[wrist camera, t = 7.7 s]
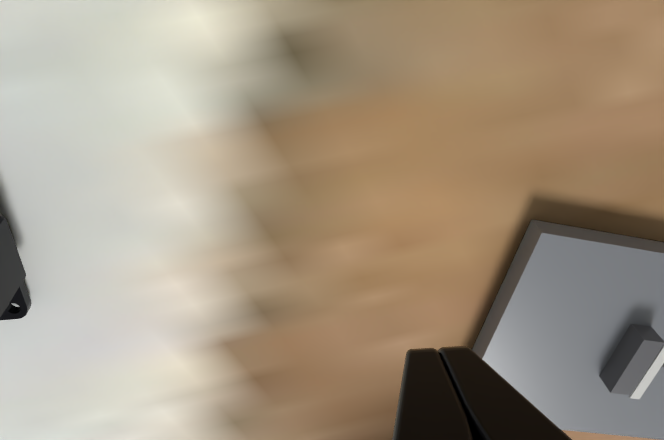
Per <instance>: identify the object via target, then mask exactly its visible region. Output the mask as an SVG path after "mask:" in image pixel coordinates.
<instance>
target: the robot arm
mask: <svg viewBox="0 0 664 440" xmlns="http://www.w3.org/2000/svg"><path fill="white" fill-rule="evenodd" d="M25 276H26V273H25V270H24V268H23V265H22V262H21V259H20V256H19V253H18V251H17V248H16V245H15V242H14V239H13V236H12V234H11V231H10V228H9V225H8V222H7V220H6V218H5V217H4V216H3V215H2V214H0V320H9V319H19V318H22V317H24V316H25V315H26V314H27V312H28V310H29V309H30V306H31V300H30V297H29V294H28V291H27V288H26V286H25V283H24V278H25ZM11 303H15V304H17V305H19V306H20V307H15V306H13V305H12V304H11ZM392 440H572V439H571V438H569V437H568V436H567V435H566V434H565V433H564V432H563V431H562V430H561V429H559V428H558V427H557V426H556V425H555V424H554V423H553V422H552V421H551V420H549V419H548V418H547V417H546V416H545V415H544V414H543V413H542V412H541V411H539V410H538V409H537V408H536V407H535V406H534V405H533V404H532V403H531V402H529V401H528V400H527V399H526V398H525V397H524V396H523V395H522V394H520V393H519V392H518V391H517V390H516V389H515V388H514V387H513V386H512V385H510V384H509V383H508V382H507V381H506V380H505V379H504V378H503V377H502V376H500V375H499V374H498V373H497V372H496V371H495V370H494V369H493V368H492V367H490V366H489V365H488V364H487V363H486V362H485V361H484V360H483V359H482V358H480V357H479V356H478V355H477V354H476V353H475V352H474V351H473V350H471V349H470V348H468V347H466V346H456V347H442V348H440V349H439V350H438V351H437V350H436V349H434V348H423V349H410V350H408V352H407V354H406V358H405V365H404V371H403V377H402V383H401V389H400V395H399V401H398V407H397V413H396V419H395V426H394V432H393V438H392Z"/></svg>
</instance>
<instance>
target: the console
mask: <svg viewBox="0 0 664 440" xmlns="http://www.w3.org/2000/svg"><path fill="white" fill-rule="evenodd" d="M472 350H473V351H474V352H475V353H476V354H477V355H478V356H479V357H480V358H482V359H483V360H484V361H485V362H486V363H487V364H488V365H489V366H490V367H492V368H493V369H494V370H495V371H496V372H497V373H498V374H499V375H500V376H502V377H503V378H504V379H505V380H506V381H507V382H508V383H509V384H510V385H512V386H513V387H514V388H515V389H516V390H517V391H518V392H519V393H520V394H522V395H523V396H524V397H525V398H526V399H527V400H528V401H529V402H531V403H532V404H533V405H534V406H535V407H536V408H537V409H538V410H539V411H541V412H542V413H543V414H544V415H545V416H546V417H547V418H548V419H549V420H551V421H552V422H553V423H554V424H555V425H556V426H557V427H558V428H559V429H561V430H570V431H580V432H590V433H600V434H611V435H621V436H631V437H641V438H652V439H662V440H664V242H659V241H653V240H647V239H641V238H636V237H630V236H624V235H618V234H613V233H607V232H601V231H595V230H590V229H584V228H578V227H572V226H567V225H561V224H555V223H549V222H544V221H538V220H531V222H530V224H529V226H528V228H527V231H526V233H525V235H524V237H523V239H522V241H521V244H520V246H519V248H518V250H517V252H516V255H515V257H514V259H513V261H512V263H511V266H510V268H509V270H508V272H507V274H506V276H505V279H504V281H503V283H502V285H501V287H500V290H499V292H498V294H497V296H496V298H495V301H494V303H493V305H492V307H491V309H490V311H489V314H488V316H487V318H486V320H485V322H484V325H483V327H482V329H481V331H480V333H479V336H478V338H477V340H476V342H475V344H474V346H473V349H472Z"/></svg>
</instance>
